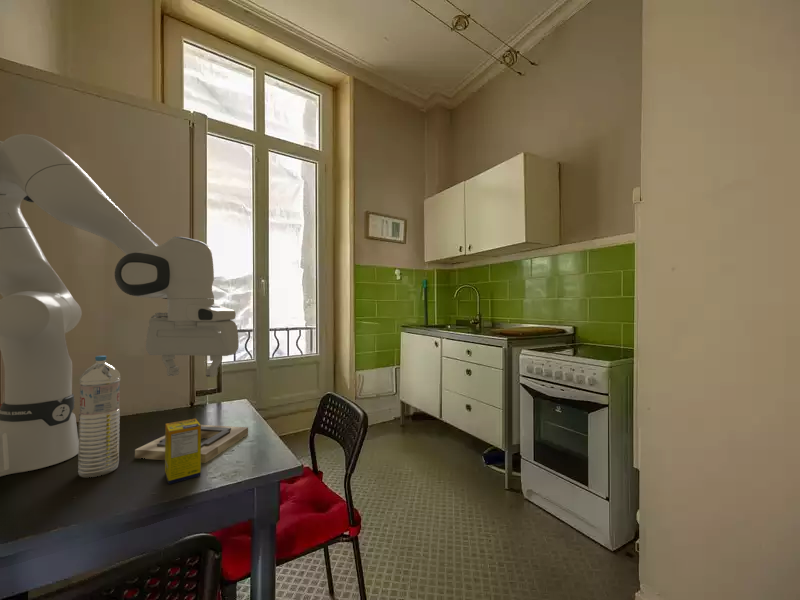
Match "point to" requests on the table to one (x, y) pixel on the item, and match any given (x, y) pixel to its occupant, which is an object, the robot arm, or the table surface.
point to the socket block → (214, 445)
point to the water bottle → (99, 420)
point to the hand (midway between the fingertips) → (192, 375)
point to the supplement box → (182, 450)
